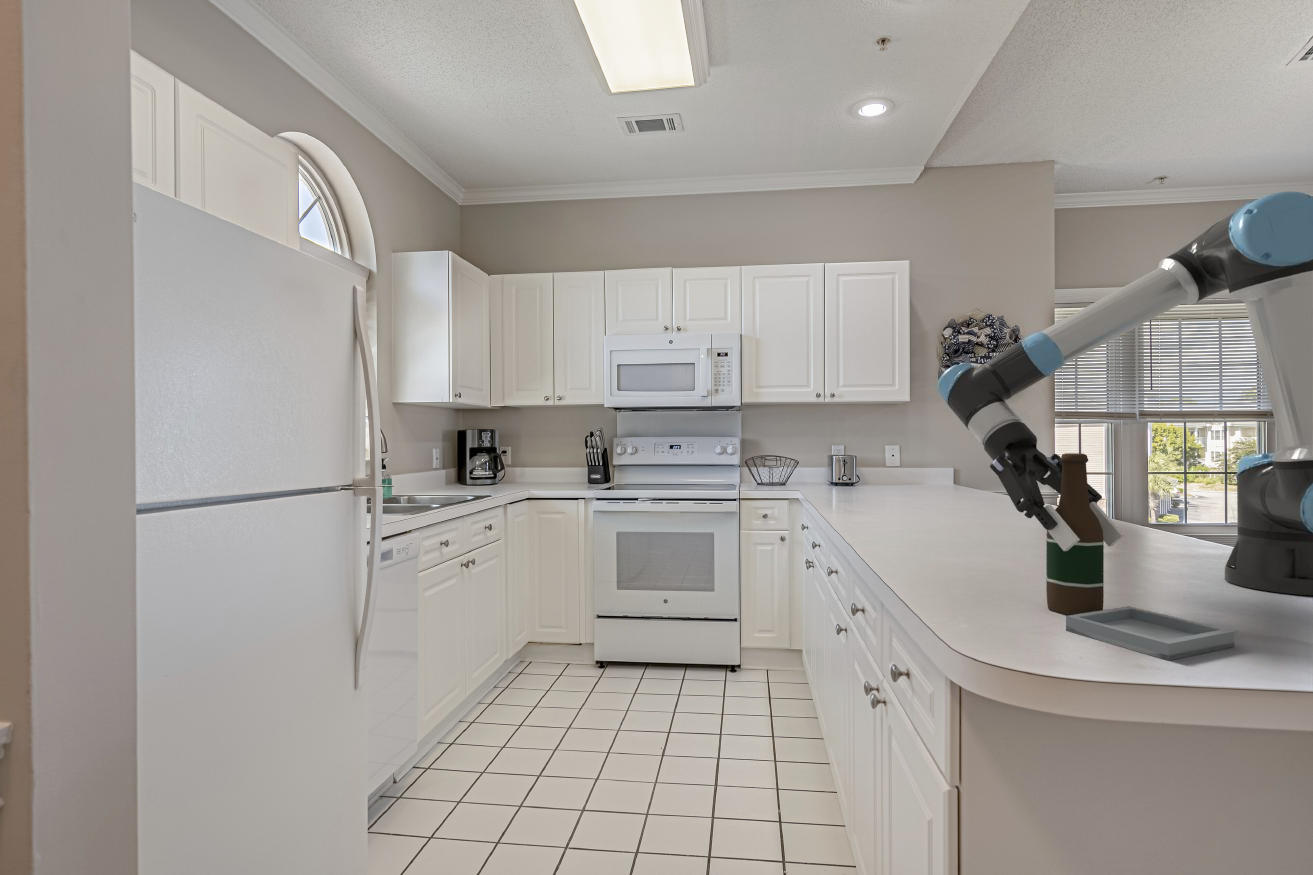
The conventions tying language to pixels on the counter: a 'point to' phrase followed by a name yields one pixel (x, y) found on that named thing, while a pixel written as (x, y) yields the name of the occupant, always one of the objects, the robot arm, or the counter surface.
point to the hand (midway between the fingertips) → (1094, 543)
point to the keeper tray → (1150, 632)
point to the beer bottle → (1076, 547)
